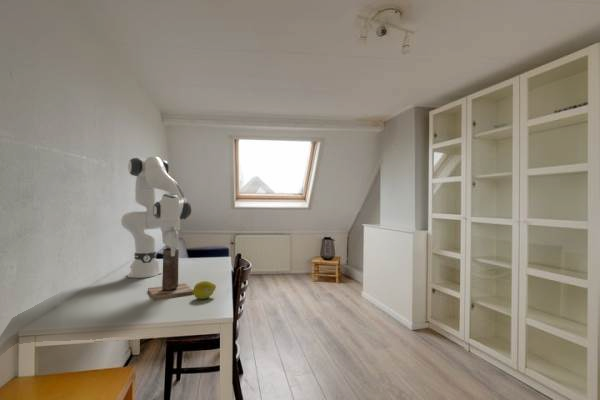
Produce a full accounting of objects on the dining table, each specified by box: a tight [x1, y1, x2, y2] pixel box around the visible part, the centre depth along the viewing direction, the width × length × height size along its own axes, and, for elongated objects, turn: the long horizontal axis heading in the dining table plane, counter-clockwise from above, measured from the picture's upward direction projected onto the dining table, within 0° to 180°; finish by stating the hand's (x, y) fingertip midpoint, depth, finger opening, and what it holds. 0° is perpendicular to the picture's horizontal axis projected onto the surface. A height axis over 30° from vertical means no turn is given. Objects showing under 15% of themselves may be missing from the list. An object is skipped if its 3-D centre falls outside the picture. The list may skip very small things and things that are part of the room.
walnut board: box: [147, 282, 194, 301], centre depth 162 cm, size 18×18×2 cm
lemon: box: [192, 280, 217, 300], centre depth 152 cm, size 11×8×8 cm
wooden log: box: [161, 247, 179, 290], centre depth 163 cm, size 8×7×20 cm
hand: (170, 254), depth 162 cm, fingers open, 8 cm apart
